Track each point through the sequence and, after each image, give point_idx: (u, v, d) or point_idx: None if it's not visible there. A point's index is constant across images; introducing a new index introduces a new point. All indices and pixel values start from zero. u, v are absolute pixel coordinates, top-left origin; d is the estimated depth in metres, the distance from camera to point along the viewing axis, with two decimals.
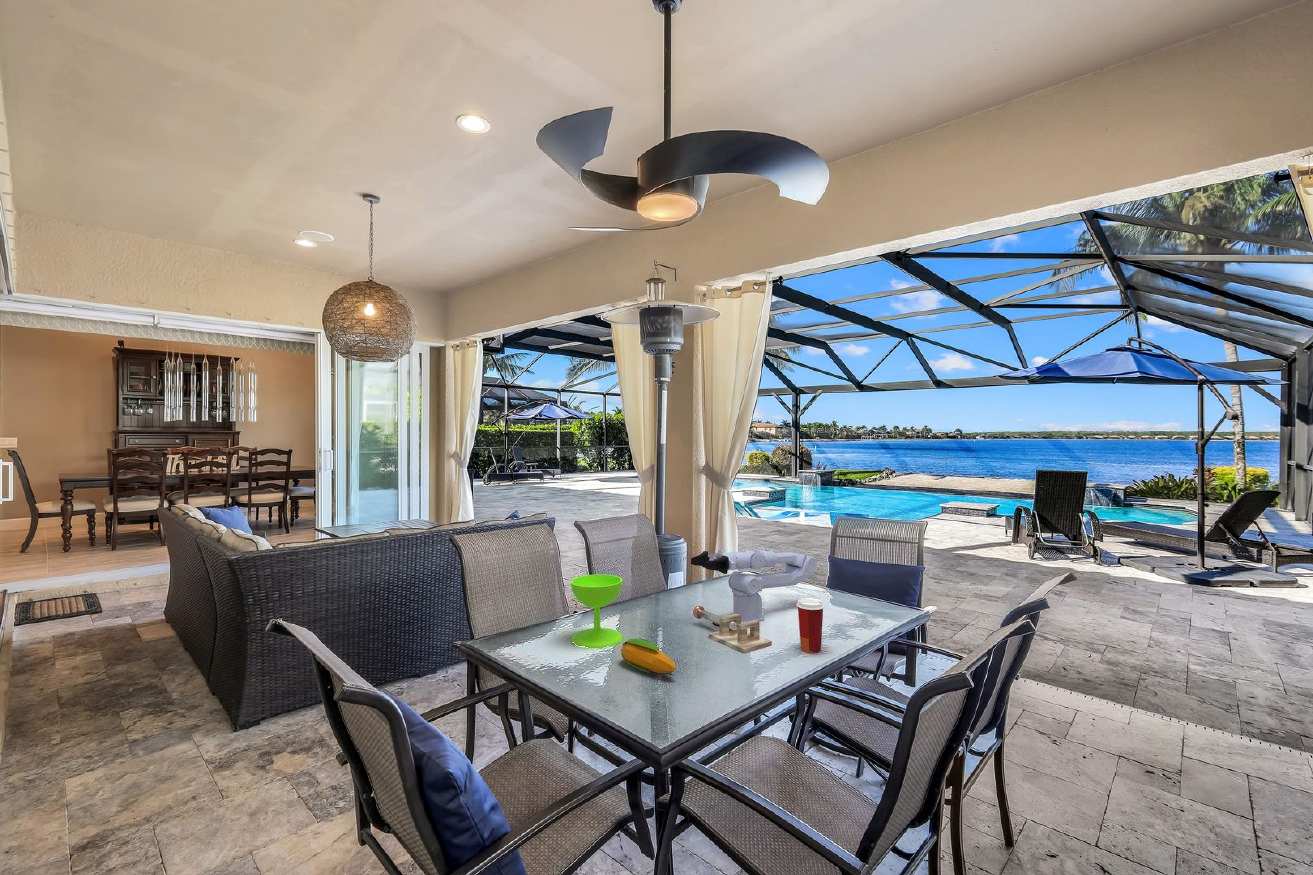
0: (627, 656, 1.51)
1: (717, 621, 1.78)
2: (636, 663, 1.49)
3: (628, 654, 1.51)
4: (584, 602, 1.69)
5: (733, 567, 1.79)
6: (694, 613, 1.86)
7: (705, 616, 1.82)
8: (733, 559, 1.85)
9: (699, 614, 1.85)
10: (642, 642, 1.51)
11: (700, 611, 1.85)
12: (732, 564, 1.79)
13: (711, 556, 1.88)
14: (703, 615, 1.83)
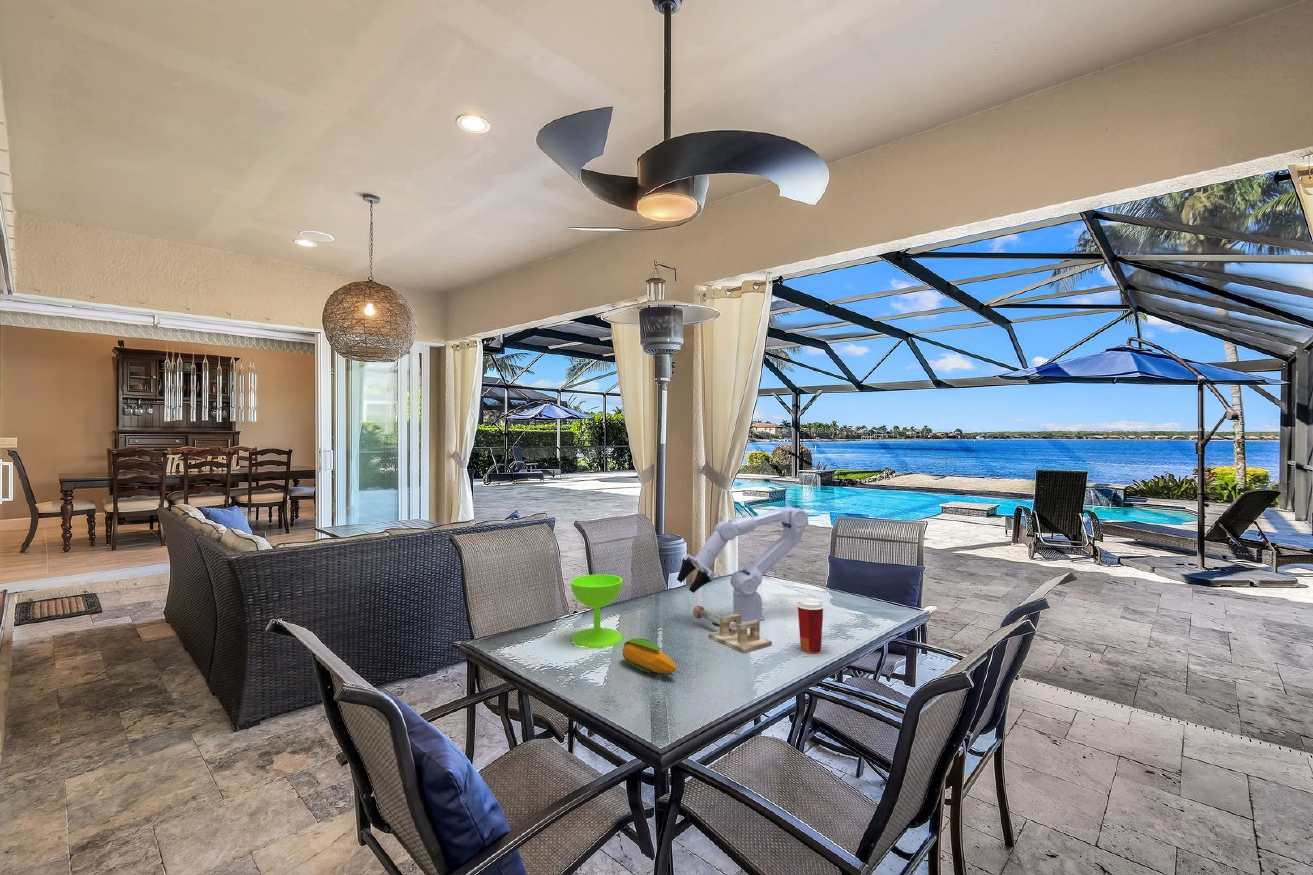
0: (628, 656, 1.52)
1: (717, 621, 1.78)
2: (637, 663, 1.49)
3: (629, 654, 1.51)
4: (584, 602, 1.69)
5: (713, 575, 1.82)
6: (694, 613, 1.86)
7: (705, 616, 1.82)
8: (709, 557, 1.85)
9: (699, 614, 1.85)
10: (643, 642, 1.51)
11: (700, 611, 1.85)
12: (710, 575, 1.81)
13: (691, 558, 1.90)
14: (703, 615, 1.83)
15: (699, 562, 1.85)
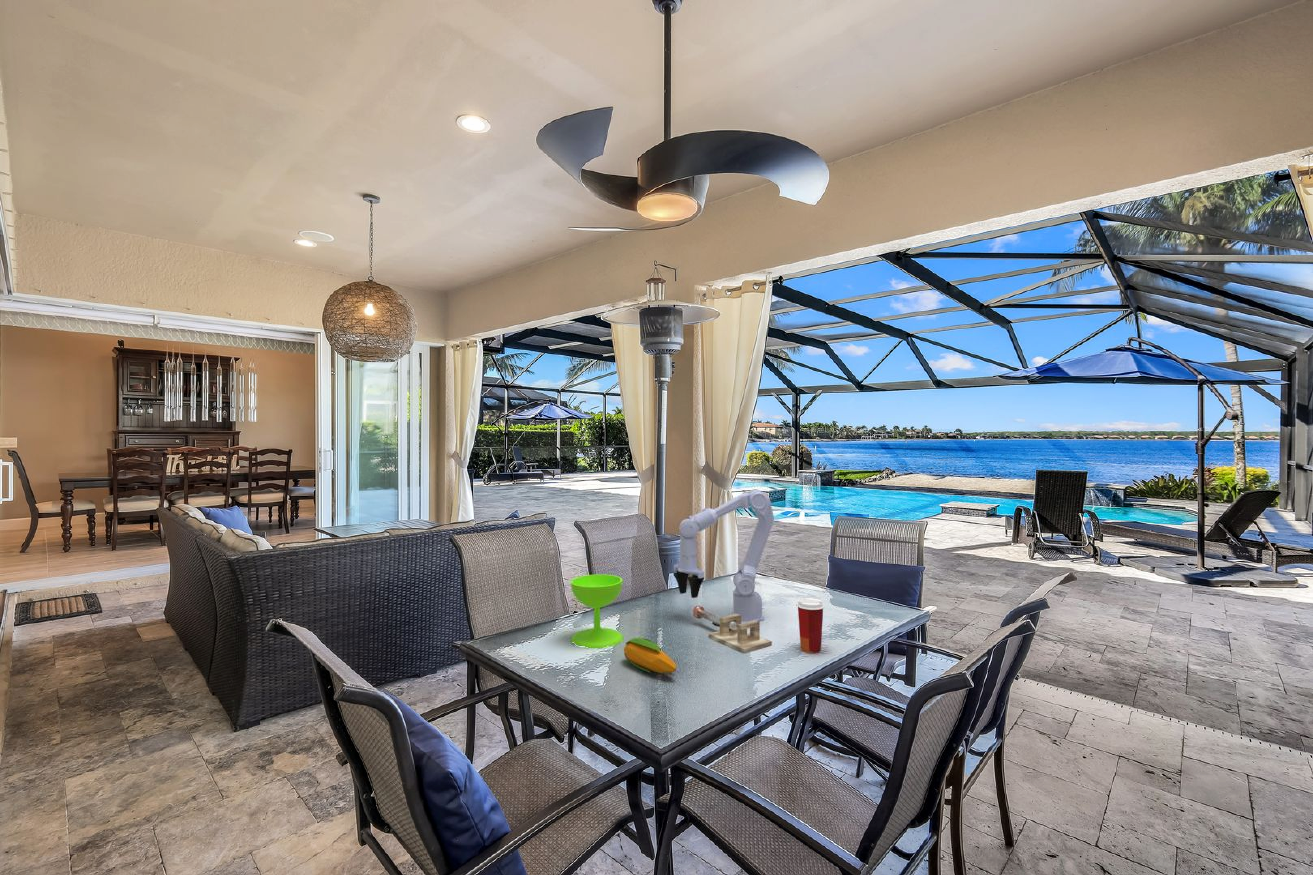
0: (629, 655, 1.52)
1: (717, 621, 1.78)
2: (638, 663, 1.50)
3: (630, 653, 1.52)
4: (584, 602, 1.69)
5: (703, 574, 1.86)
6: (694, 613, 1.86)
7: (705, 616, 1.82)
8: (690, 560, 1.89)
9: (699, 614, 1.85)
10: (644, 642, 1.51)
11: (700, 611, 1.85)
12: (700, 576, 1.85)
13: None
14: (703, 615, 1.83)
15: (685, 570, 1.89)
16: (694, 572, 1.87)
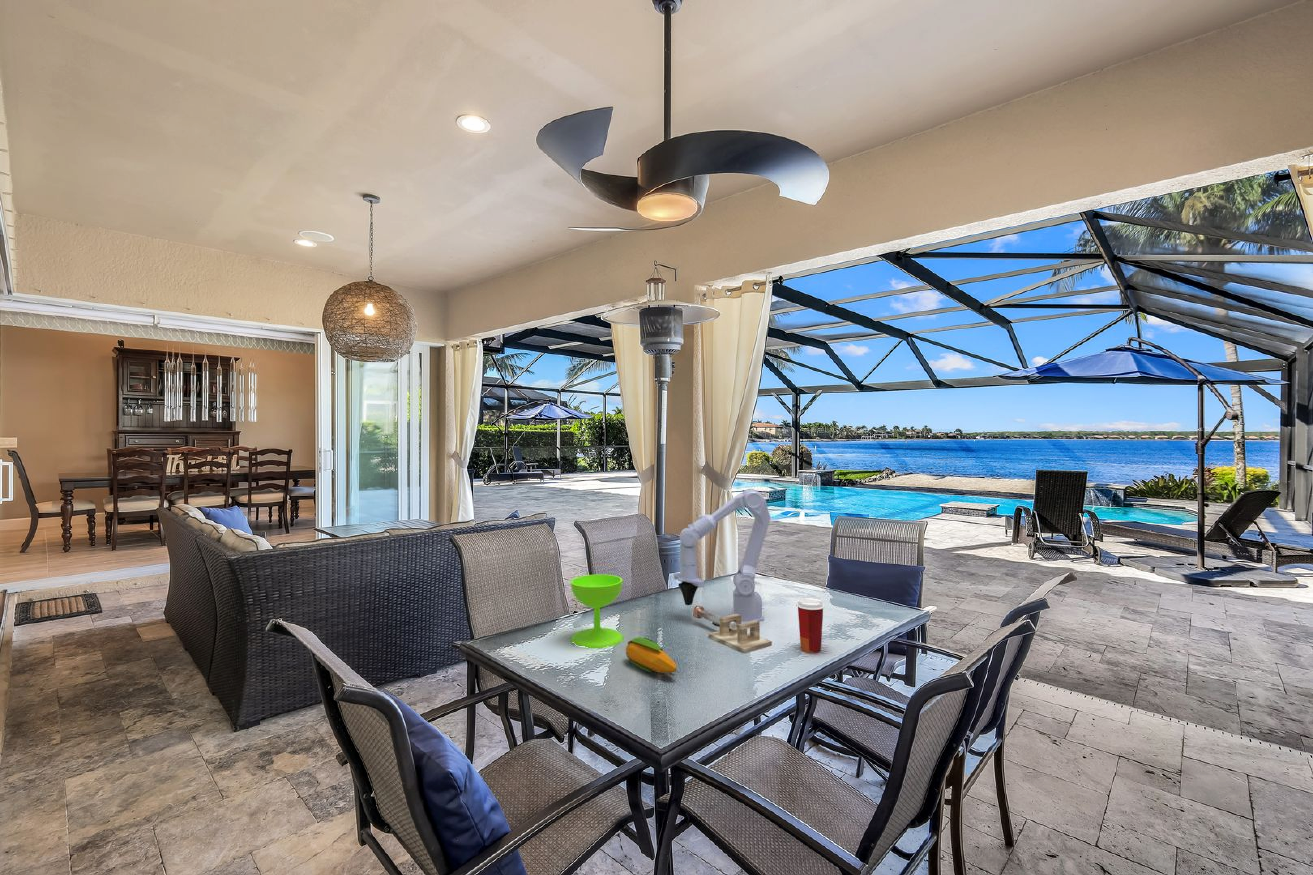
0: (631, 655, 1.52)
1: (717, 621, 1.78)
2: (639, 662, 1.50)
3: (632, 653, 1.52)
4: (584, 602, 1.69)
5: (703, 584, 1.86)
6: (694, 613, 1.86)
7: (705, 616, 1.82)
8: (690, 570, 1.89)
9: (699, 614, 1.85)
10: (645, 641, 1.51)
11: (700, 611, 1.85)
12: (700, 586, 1.85)
13: None
14: (703, 615, 1.83)
15: (685, 579, 1.89)
16: (694, 581, 1.87)
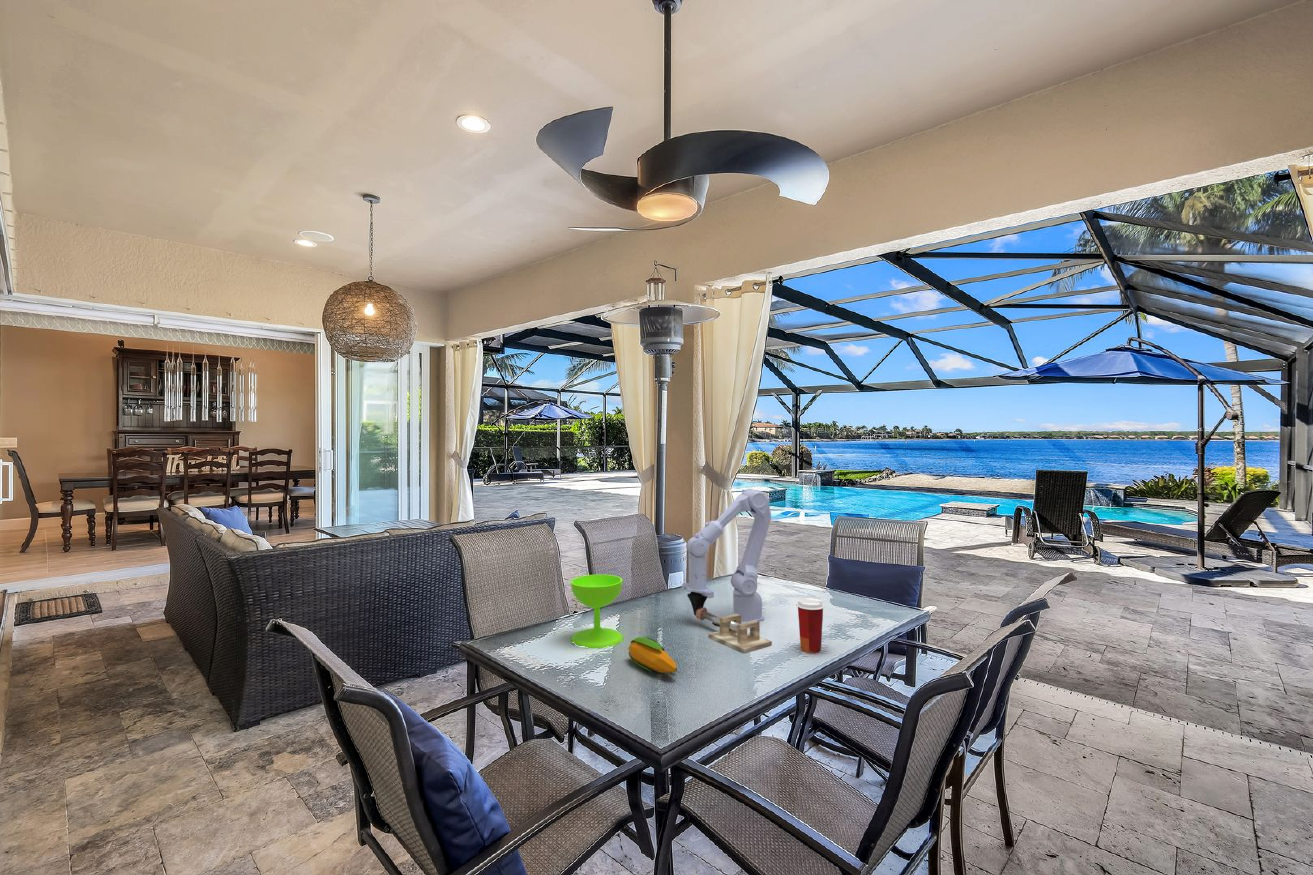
0: (633, 654, 1.53)
1: None
2: (641, 662, 1.50)
3: (633, 652, 1.53)
4: (584, 602, 1.69)
5: (712, 594, 1.82)
6: (697, 614, 1.85)
7: (708, 617, 1.81)
8: (699, 580, 1.85)
9: (702, 615, 1.84)
10: (647, 641, 1.51)
11: (703, 612, 1.84)
12: (710, 596, 1.81)
13: None
14: (706, 616, 1.82)
15: (694, 590, 1.85)
16: (703, 592, 1.83)
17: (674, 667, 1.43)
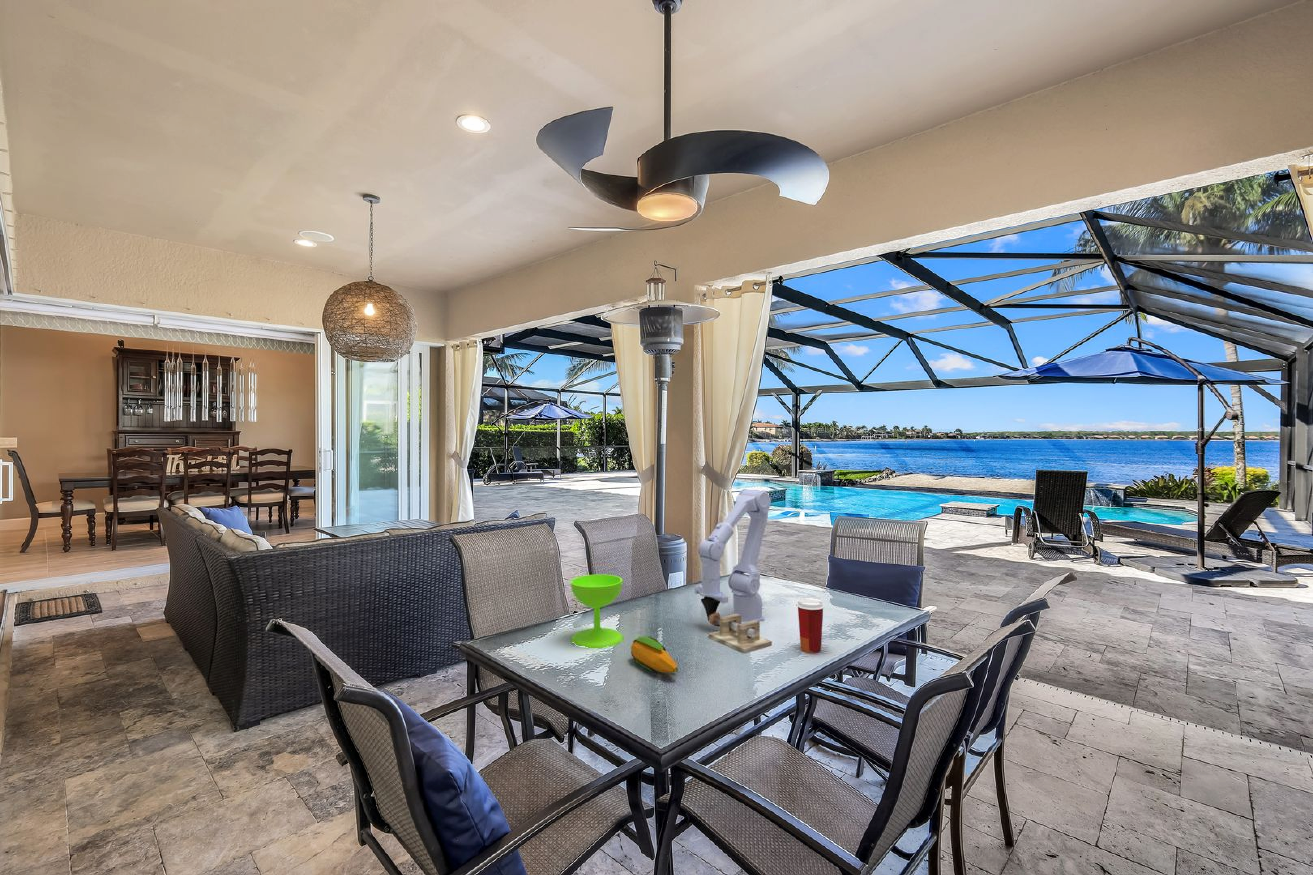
0: (634, 654, 1.53)
1: (734, 628, 1.71)
2: (642, 661, 1.51)
3: (635, 652, 1.53)
4: (584, 602, 1.69)
5: (727, 599, 1.76)
6: (710, 619, 1.79)
7: None
8: (713, 584, 1.79)
9: (715, 620, 1.78)
10: (648, 641, 1.52)
11: (716, 617, 1.78)
12: (724, 601, 1.76)
13: None
14: (719, 621, 1.77)
15: (708, 594, 1.79)
16: (717, 597, 1.77)
17: (674, 667, 1.42)
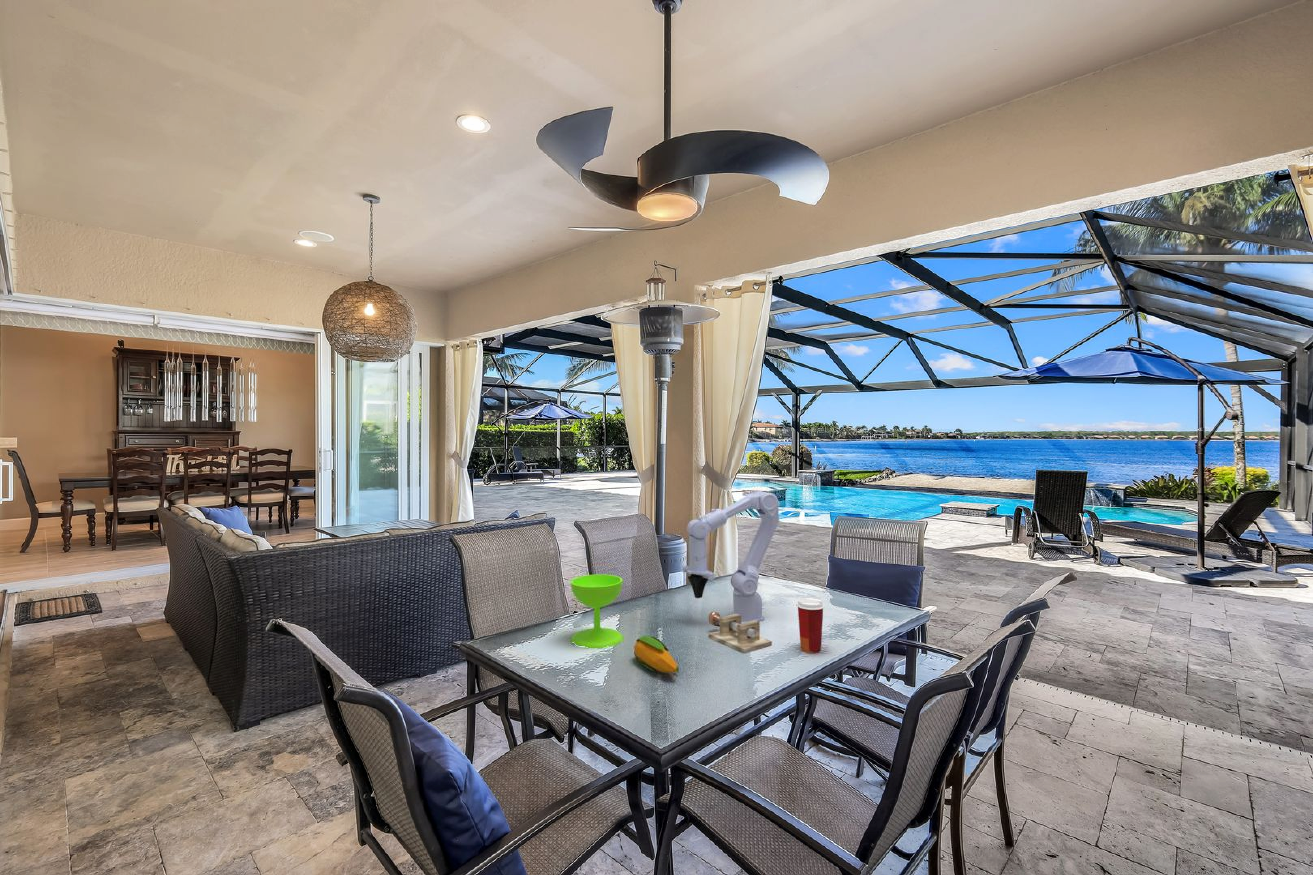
0: (637, 653, 1.54)
1: (734, 628, 1.71)
2: (644, 661, 1.51)
3: (638, 651, 1.53)
4: (584, 602, 1.69)
5: (713, 576, 1.82)
6: (710, 619, 1.79)
7: None
8: (700, 562, 1.85)
9: (715, 620, 1.78)
10: (650, 640, 1.52)
11: (716, 617, 1.79)
12: (711, 578, 1.81)
13: None
14: (719, 621, 1.77)
15: (695, 572, 1.85)
16: (704, 574, 1.82)
17: (674, 667, 1.42)
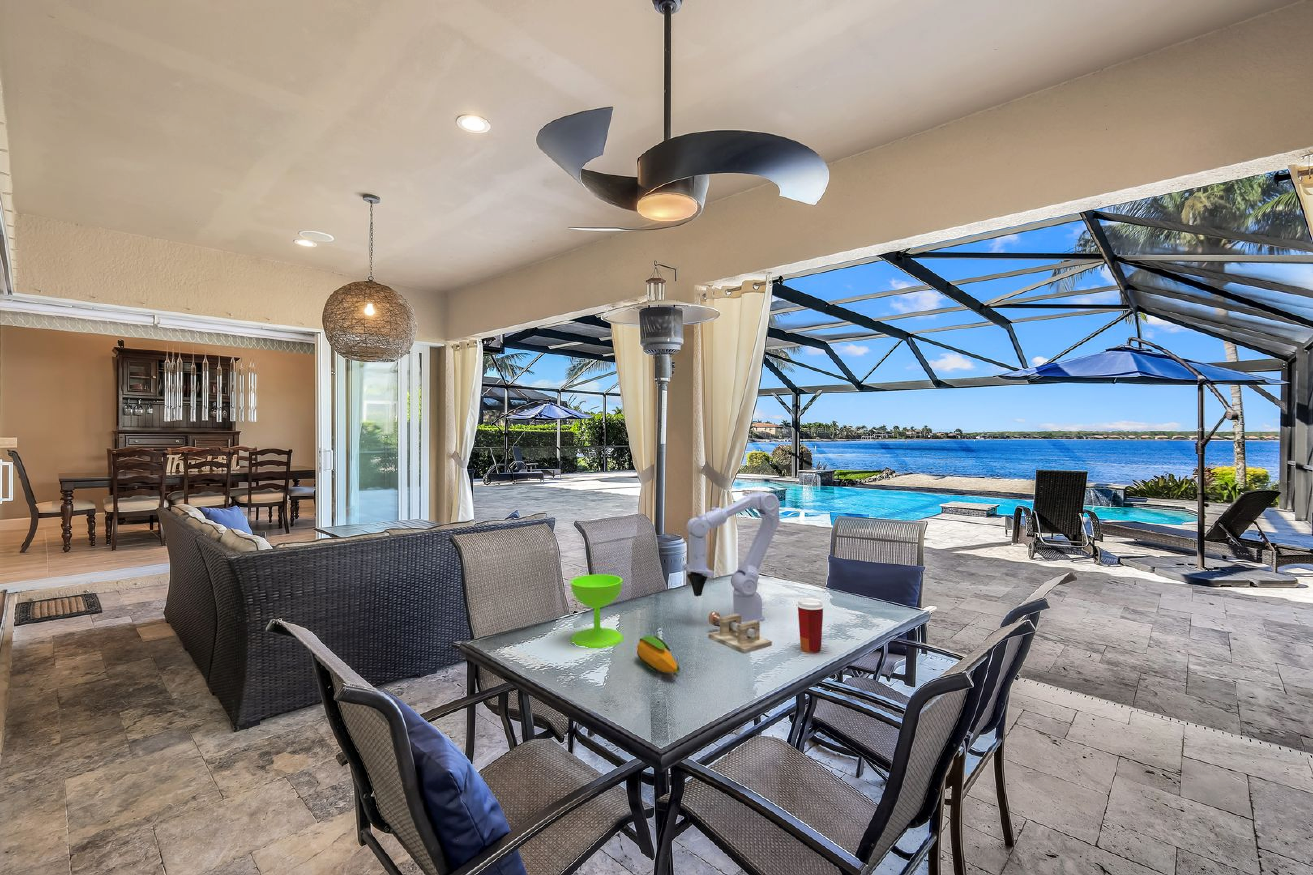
0: (639, 652, 1.54)
1: (734, 628, 1.71)
2: (646, 660, 1.51)
3: (640, 650, 1.54)
4: (584, 602, 1.69)
5: (712, 574, 1.82)
6: (710, 619, 1.79)
7: None
8: (700, 560, 1.85)
9: (715, 620, 1.78)
10: (652, 640, 1.52)
11: (716, 617, 1.79)
12: (710, 576, 1.81)
13: None
14: (719, 621, 1.77)
15: (694, 570, 1.85)
16: (704, 572, 1.83)
17: (674, 668, 1.42)
